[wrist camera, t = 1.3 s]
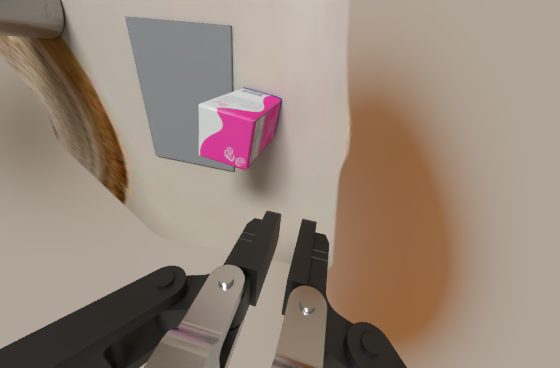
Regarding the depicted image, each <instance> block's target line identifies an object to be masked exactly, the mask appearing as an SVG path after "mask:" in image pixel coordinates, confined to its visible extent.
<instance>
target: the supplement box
mask: <svg viewBox="0 0 560 368" xmlns="http://www.w3.org/2000/svg"><path fill="white" fill-rule="evenodd" d="M281 101H282V99H281V98H279V97H276V96H273V95H269V94H266V93H262V92H259V91H255V90H251V89H247V88H242V89H239V90H236V91H234V92H231V93H228V94H225V95H223V96H220V97H217V98H214V99H212V100H209V101H206V102H203V103H200V104H199V105H198V108H199V156H203V157H206V158H209V159H212V160H215V161H218V162H222V163H225V164H228V165H231V166H234V167H237V168H241V169H244V170H247V169H248V168H249V166H250V165H251V164H252V163H253V161H254V160H255V159H256V158H257V157H258V155H259V154H260V153H261V152H262V150H263V149H264V148H265V147H266V145H267V144H268V143H269V142H270V141H271V139H272V138H273V137H274V134H275V129H276V124H277V120H278V115H279V111H280V106H281Z"/></svg>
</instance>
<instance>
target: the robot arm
mask: <svg viewBox="0 0 560 368" xmlns="http://www.w3.org/2000/svg"><path fill="white" fill-rule="evenodd" d="M63 24H64V17H63V10H62V6H61V3H60V0H0V35H3V36H17V37H31V38H45V39H53V38H56V37H58V36H59V35H60V34H61V32H62V29H63ZM280 221H281V214H280V213H275V212H271V211H266V213H265V215H264V217H263V219H262V220H261V219H256V218H254V219H253V220H252V221H250V222H249V223H248V224H247V225H246V227H245V229H244V230H243V233H242V234H241V236H240V237H239V239H238V241H237V243H236V244H235V246H234V248H233V249H232V251H231V253H230V255H229V256H228V258H227V260H226V262H225V263H224V265H223V266H220V267H218V268H216V269H215V270H213V271H212V272H211V273H210V274H207V275H191V276H186V274H185V272H184V270H183V269H182V268H180V267H177V266H166V267H163V268H160V269H158V270H156V271H154V272H152V273H150V274H148V275H147V276H144V277H142V278H140V279H138V280H136V281H135V282H133V283H131V284H129V285H126V286H124V287H123V288H121V289H119V290H117V291H115V292H113V293H111V294H109V295H107V296H105V297H103V298H101V299H99V300H97V301H95V302H93V303H91V304H89V305H87V306H85V307H83V308H81V309H79V310H77V311H75V312H73V313H71V314H69V315H67V316H65V317H63V318H61V319H59V320H57V321H55V322H53V323H51V324H49V325H47V326H45V327H43V328H41V329H39V330H37V331H35V332H33V333H31V334H29V335H27V336H25V337H23V338H21V339H19V340H18V341H15V342H13V343H12V344H9V345H7V346H5V347H4V348H1V349H0V368H139V367H141V366H142V365H143V364H145V363H146V362H147V363H146V365H145V366H144V368H227V367H228V365H229V362H230V359H231V356H232V353H233V351H234V348H235V345H236V342H237V339H238V337H239V334H240V331H241V328H242V326H243V323H244V317H245V315H246V312H247V310H248V307H249V305H253V306H256V303H257V300H258V298H259V295H260V292H261V289H262V286H263V283H264V280H265V278H266V275H267V272H268V269H269V266H270V263H271V260H272V258H273V255H274V252H275V249H276V246H277V242H278V237H279V230H280ZM316 223H317V222H315V221H310V220H306V219H302V223H301V227H300V231H299V235H298V239H297V243H296V247H295V251H294V255H293V259H292V263H291V267H290V271H289V275H288V279H287V285H286V291H285V297H284V303H283V309H282V315H285V316H284V320H283V324H282V328H281V333H280V336H279V341H278V345H277V349H276V353H275V358H274V361H273V364H272V367H271V368H407V367H406V366H405V364H404V363H403V361H402V360H401V358H400V357H399V355H398V354H397V352H396V351H395V349H394V348H393V346H392V345H391V343H390V341H389V340H388V338H387V337H386V336H385V334H384V333H383V332H382V331H381V330H379V329H378V328H377V327H375V326H374V325H372V324H370V323H366V322H359V323H355V324H353V323H351V322H350V321H348V320H346V319H345V318H343V317H342V316H340V315H339V314H337V312H335V311H334V310H333V308H332V307H331V306H330V304H329V302H328V300H327V297H326V280H327V267H328V252H329V242H328V240H327V237H326V235H324V234H320V233H316V232H315V230H316Z"/></svg>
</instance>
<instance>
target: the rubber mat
mask: <svg viewBox="0 0 560 368" xmlns="http://www.w3.org/2000/svg"><path fill="white" fill-rule="evenodd" d="M125 19H126V23H127V28H128V32H129V37H130V41H131V46H132V50H133V55H134V59H135V64H136V68H137V73H138V77H139V82H140V86H141V91H142V95H143V100H144V104H145V109H146V113H147V118H148V122H149V127H150V131H151V136H152V140H153V145H154V149H155V154H156V156H161V157H166V158H171V159H176V160H180V161H185V162H190V163H195V164H200V165H205V166H210V167H215V168H220V169H225V170H230V171H234V170H235V167H234V166H231V165H228V164H225V163H222V162H218V161H215V160H212V159H209V158H206V157H203V156H199V108H198V105H199V104H200V103H203V102H206V101H209V100H212V99H214V98H217V97H220V96H223V95H225V94H228V93H231V92H233V61H232V26H229V25H217V24H206V23H194V22H183V21H171V20H160V19H148V18H137V17H125Z"/></svg>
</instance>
